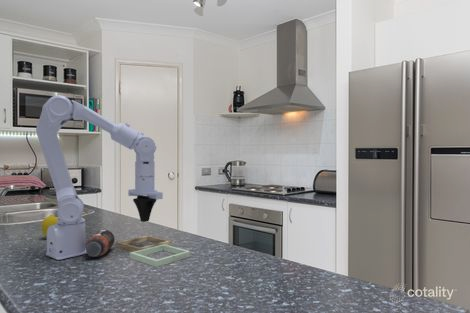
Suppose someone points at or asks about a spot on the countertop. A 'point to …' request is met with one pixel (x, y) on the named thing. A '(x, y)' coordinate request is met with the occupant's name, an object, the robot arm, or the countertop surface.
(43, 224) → the lemon
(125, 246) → the socket collar
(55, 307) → the countertop surface
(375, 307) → the countertop surface
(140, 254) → the square frame
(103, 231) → the supplement bottle
